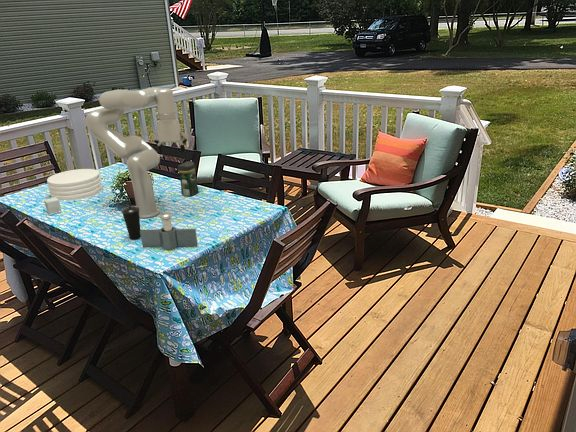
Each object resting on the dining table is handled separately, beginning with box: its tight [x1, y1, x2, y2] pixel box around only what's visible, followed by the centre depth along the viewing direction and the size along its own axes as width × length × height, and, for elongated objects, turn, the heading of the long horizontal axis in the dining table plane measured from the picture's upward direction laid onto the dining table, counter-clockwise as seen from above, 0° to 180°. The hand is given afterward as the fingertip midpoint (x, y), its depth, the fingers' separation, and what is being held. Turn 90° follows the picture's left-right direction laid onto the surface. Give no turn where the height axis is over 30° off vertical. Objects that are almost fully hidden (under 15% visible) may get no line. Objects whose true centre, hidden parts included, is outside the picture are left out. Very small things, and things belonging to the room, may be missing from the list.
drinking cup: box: [121, 195, 141, 241], centre depth 212 cm, size 8×8×20 cm
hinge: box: [140, 225, 199, 251], centre depth 203 cm, size 24×7×8 cm, turn 87°
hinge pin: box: [158, 211, 173, 232], centre depth 202 cm, size 5×5×15 cm
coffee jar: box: [177, 160, 199, 197], centre depth 265 cm, size 10×8×19 cm
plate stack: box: [46, 168, 104, 201], centre depth 275 cm, size 28×28×12 cm
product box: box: [43, 197, 62, 215], centre depth 249 cm, size 6×6×7 cm
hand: (172, 153), depth 221 cm, fingers open, 9 cm apart
